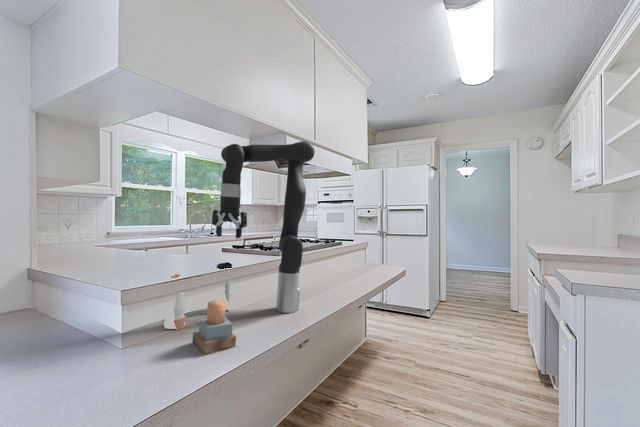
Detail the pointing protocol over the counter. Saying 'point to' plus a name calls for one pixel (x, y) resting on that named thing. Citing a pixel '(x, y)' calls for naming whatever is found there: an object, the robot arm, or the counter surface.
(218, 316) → the terracotta drum
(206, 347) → the walnut base block
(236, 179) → the robot arm
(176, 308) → the salt shaker
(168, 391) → the counter surface
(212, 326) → the slate top block
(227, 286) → the travel mug
